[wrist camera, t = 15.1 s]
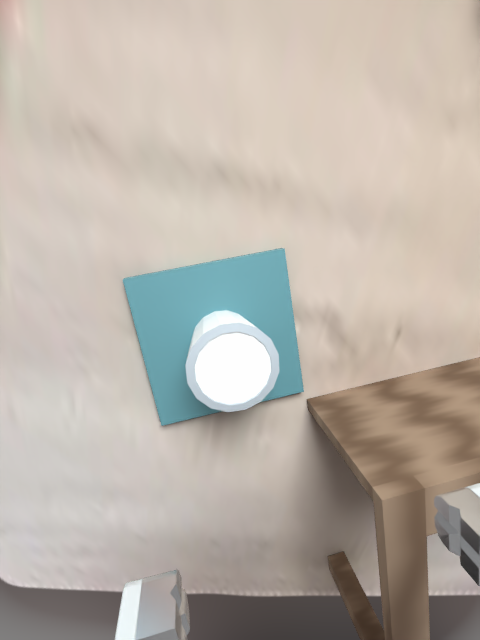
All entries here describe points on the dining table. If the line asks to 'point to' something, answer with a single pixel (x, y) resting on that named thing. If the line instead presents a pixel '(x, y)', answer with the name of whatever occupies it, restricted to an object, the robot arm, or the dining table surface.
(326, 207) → the dining table surface
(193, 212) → the dining table surface
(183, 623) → the robot arm
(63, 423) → the dining table surface
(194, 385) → the shot glass
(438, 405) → the box
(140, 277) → the mat
